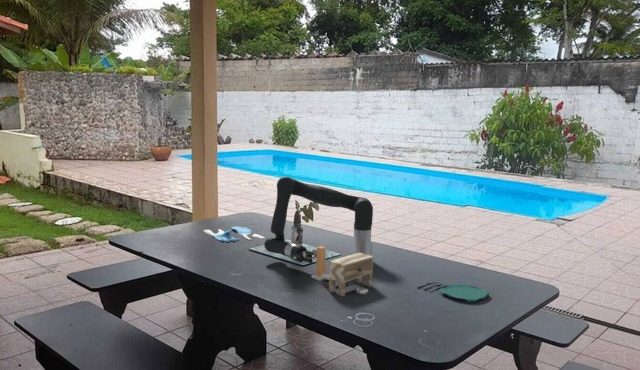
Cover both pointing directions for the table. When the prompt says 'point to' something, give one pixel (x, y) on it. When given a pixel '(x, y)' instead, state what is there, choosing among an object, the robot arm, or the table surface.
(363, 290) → the steel disc
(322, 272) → the orange post on base
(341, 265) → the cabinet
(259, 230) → the table surface
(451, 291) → the cutlery set
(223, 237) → the rubber gloves
